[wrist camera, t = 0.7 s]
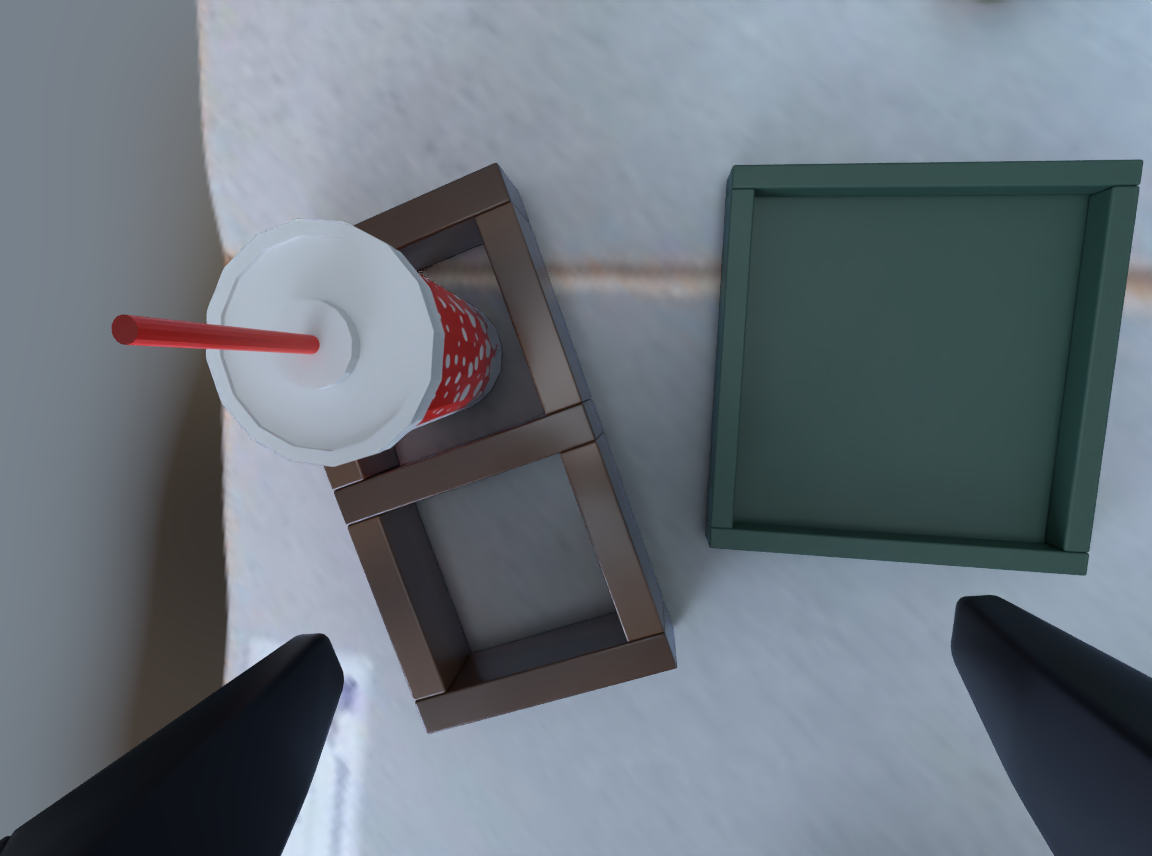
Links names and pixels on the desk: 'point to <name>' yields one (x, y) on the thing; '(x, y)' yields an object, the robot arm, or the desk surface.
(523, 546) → the desk surface
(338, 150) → the desk surface
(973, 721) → the desk surface
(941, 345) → the tray
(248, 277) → the beverage cup
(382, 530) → the cup rack
